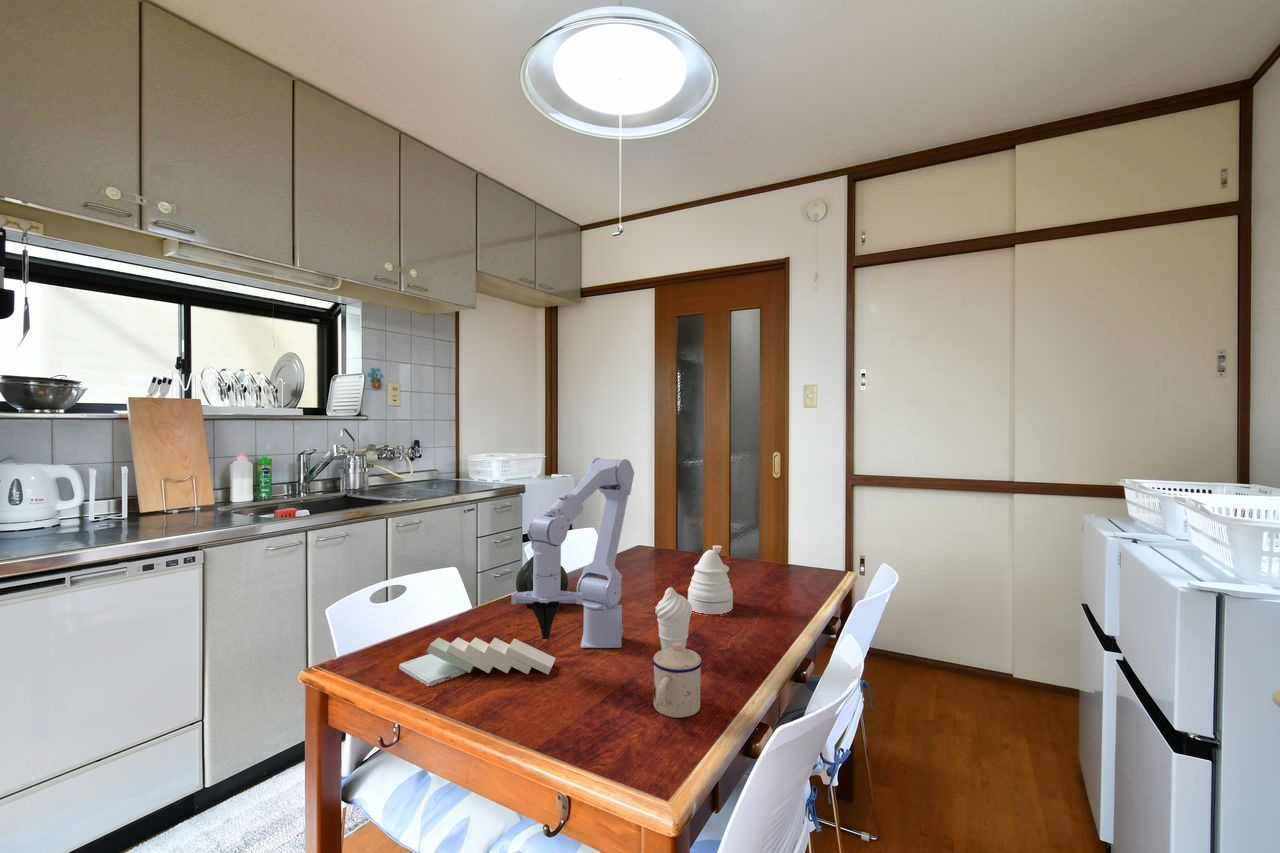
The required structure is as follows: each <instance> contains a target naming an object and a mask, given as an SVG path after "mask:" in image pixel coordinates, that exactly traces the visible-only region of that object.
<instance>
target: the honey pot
mask: <svg viewBox="0 0 1280 853" xmlns="http://www.w3.org/2000/svg"><path fill="white" fill-rule="evenodd" d="M722 548H723V547H722V546H721V545H716V544H715V545H712V549H708V550H706V551H705V552H704V553H703V554H702V556H701V557H700V559H699V561H698V562H697V564H695V565H694V566H693V569H694V573H693V575H692V576H691V581H690V584H689V586H688V589H687V600H688V601H689V602H690V604H691V606H692V611H695V612H698V613H704V614H723V613H727V612H729V611H731V610H732V609H734V601H733V600H734V592H733V588H732V587H731V583H730V578H729V577H728V576H729V575H728V572H729V571H730V567H729V566H728V565H726V564H724V563H723V561H722V559H721V557H720V555H719V553H720V552H721V550H722Z"/></svg>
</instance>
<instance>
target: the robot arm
mask: <svg viewBox="0 0 1280 853" xmlns="http://www.w3.org/2000/svg"><path fill="white" fill-rule="evenodd" d="M634 477H635V470H634V468H633V466H632V463H631V461H630V460H629V459H626V458H625V459H624V458H623V459H617V458H615V459H614V458H613V459H612V458H600V457H596V458H593V459H592V460H591V462H590V463H588V464H587V470H586V473H585V475H584V476H583V477H582V479H581V480H579V482H578V484H577V485H576V486H574V487H575V488H573V490H572V491H571V492H565V493H560V495H559V496H558V499H557V500H556V501H555V502H554V503H553V504H552V505H551V506H550V508H548V509H547V510H546V511H545V512H544V514H543V515H538V516H536V517H535V518H533V519H532V520H531V522H530V524H529V527H528V529H527V537H528V539H529V540H530V542H531V544H530V545H531V547H530V548H531V549H532V551H533V556H534V564H533V591H528V592H517V591H514V592H513V593H512V594H511V605H517V604H525V603H534V605H533V606H532V611H533V613H534V615H535V617H536V619H537V622H538V624H539V628H540V632H541V637H542V640H545V639H546V640H548V639H550V637H551V633H552V631H551V630H552V626H553V622H554V619H555V617H556V614H557V612H558V610H559V607H560V604H576V605H583V634H582V637H581V643H580V648H582V649H613V648H614V649H621V648H622V641H623V640H622V639H623V638H622V637H624V628H622V626H623V624H622V622H623V621H622V620H623V619H622V618H623V615H622V614H623V605H622V604H618V603H619V601H620V599H621V597H622V591H623V590H622V579H623V575H622V574H621V572H620V571H619V570H618V569H617V568H616V566H615V564H616V558H617V554H618V549H619V543H620V539H621V534H622V528H623V526H624V524H623V523H624V518H625V513H626V509H627V504H628V499H629V496H630V495H631V492H632V487H633V481H634ZM597 490H598V491H599V492H600V493H602V495H603V496H604V497H605V504H604V508H603V513H602V517H601V522H600V526H599V531H598V535H597V536H598V537H597V540H596V545H595V550H594V555H593V559H592V562H590V563H589V564H588V565H585V567H584V568H582V572H581V576H580V577H579V579H578V581H577V583H576V584H577V585H576V591H568V590H567V591H560V586H561V566H562V562H561V561H562V543H563V542H565V540H566V538H567V535H568V531H569V529H570V528H571V524H573V522H574V521H575V520H576V519H577V517H579V516H580V514H581V513H582V512H583V508H584V506H583V504H584V502H586V500H588V499H589V498H590V497H591V496H592V495H593V494H594V493H595V492H596V491H597ZM599 575H600V576H599ZM601 576H604V577H601ZM547 603H548V604H547Z"/></svg>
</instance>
